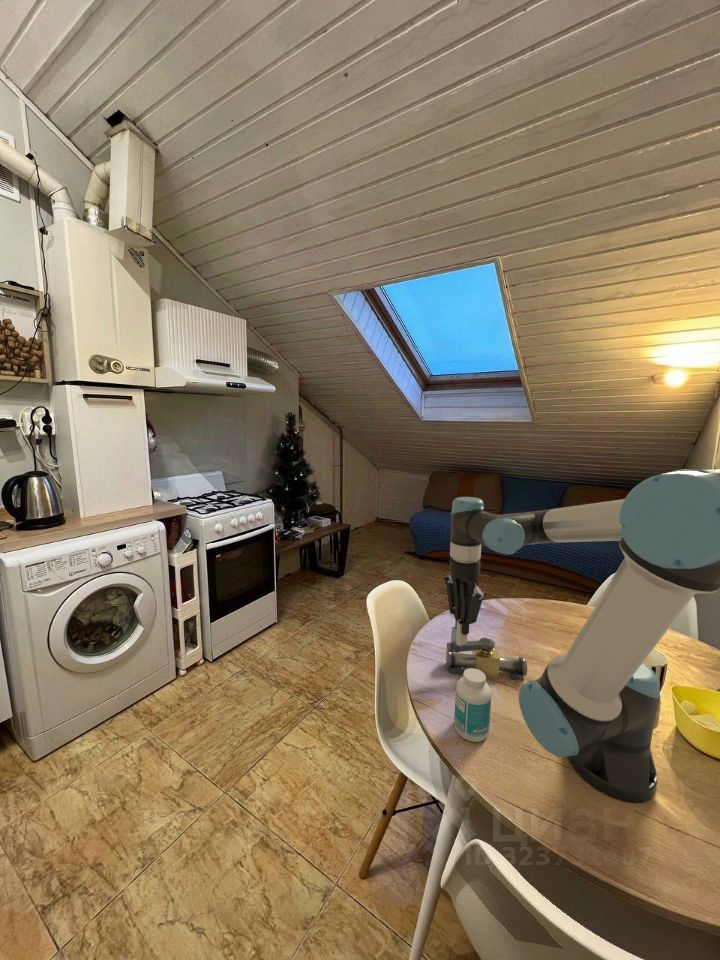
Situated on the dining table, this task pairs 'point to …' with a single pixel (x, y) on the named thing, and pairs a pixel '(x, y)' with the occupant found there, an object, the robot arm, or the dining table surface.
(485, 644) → the lever
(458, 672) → the pipe valve
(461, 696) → the pill bottle
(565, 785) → the dining table surface
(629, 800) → the robot arm
